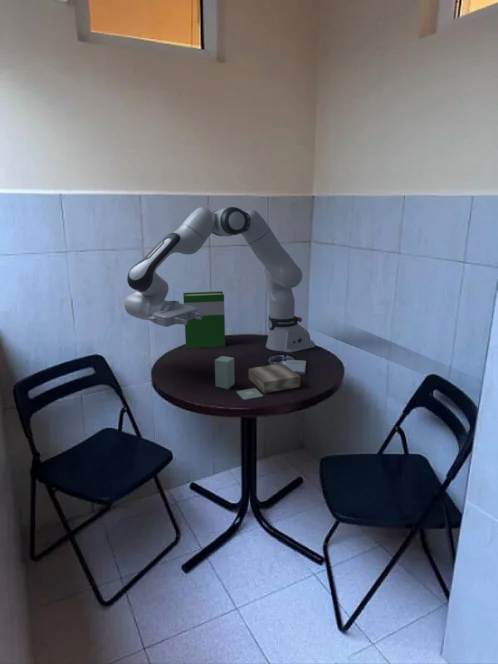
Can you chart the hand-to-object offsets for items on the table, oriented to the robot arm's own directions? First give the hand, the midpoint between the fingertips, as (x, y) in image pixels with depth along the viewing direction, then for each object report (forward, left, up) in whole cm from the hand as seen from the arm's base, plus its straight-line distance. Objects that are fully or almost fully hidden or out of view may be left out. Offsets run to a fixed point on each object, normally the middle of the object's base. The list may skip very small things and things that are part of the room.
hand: (194, 319), depth 160 cm
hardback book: (-15, -37, -23) cm, 46 cm away
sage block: (-8, +10, -23) cm, 26 cm away
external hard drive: (-39, +5, -23) cm, 45 cm away
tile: (-13, +21, -23) cm, 33 cm away
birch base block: (-25, +15, -23) cm, 37 cm away
